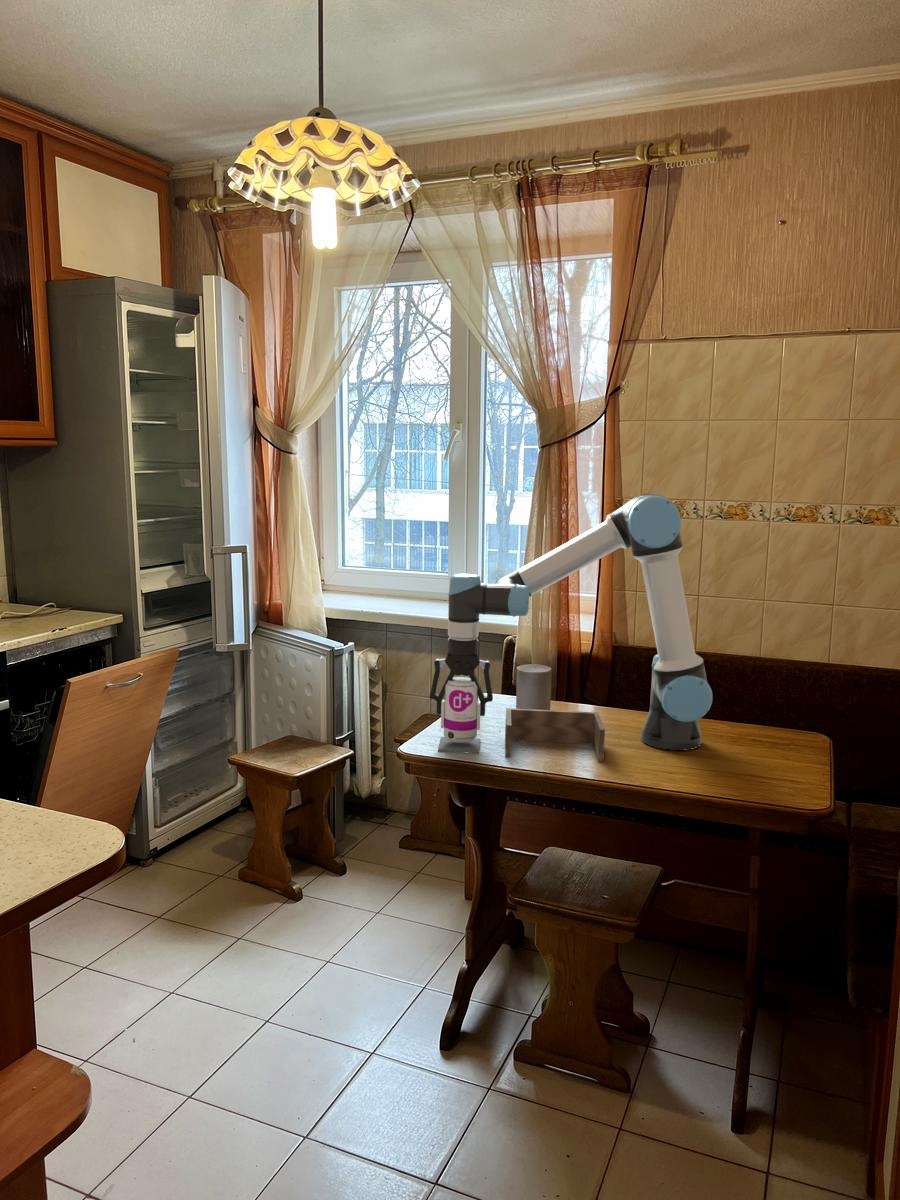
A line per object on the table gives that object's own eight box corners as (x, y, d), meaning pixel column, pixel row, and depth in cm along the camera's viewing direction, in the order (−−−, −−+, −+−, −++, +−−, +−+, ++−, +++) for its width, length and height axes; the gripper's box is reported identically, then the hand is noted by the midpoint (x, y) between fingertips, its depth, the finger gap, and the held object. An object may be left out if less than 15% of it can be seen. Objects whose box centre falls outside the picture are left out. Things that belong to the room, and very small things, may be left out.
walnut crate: (596, 742, 229) (598, 712, 228) (603, 762, 214) (605, 729, 213) (504, 738, 230) (506, 708, 229) (505, 757, 215) (506, 725, 214)
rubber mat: (480, 740, 227) (480, 738, 227) (479, 753, 218) (479, 751, 217) (440, 738, 228) (440, 736, 228) (438, 751, 218) (438, 749, 218)
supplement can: (474, 744, 218) (476, 684, 216) (440, 741, 219) (442, 682, 217) (478, 734, 226) (480, 676, 224) (446, 732, 227) (447, 674, 225)
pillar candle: (546, 710, 257) (548, 659, 255) (552, 720, 247) (554, 667, 245) (513, 710, 256) (514, 659, 254) (517, 720, 247) (519, 667, 244)
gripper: (506, 636, 222) (502, 724, 225) (421, 633, 223) (419, 721, 226) (506, 642, 214) (502, 733, 218) (418, 638, 215) (416, 730, 219)
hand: (460, 727), depth 222 cm, fingers closed on supplement can, 8 cm apart
